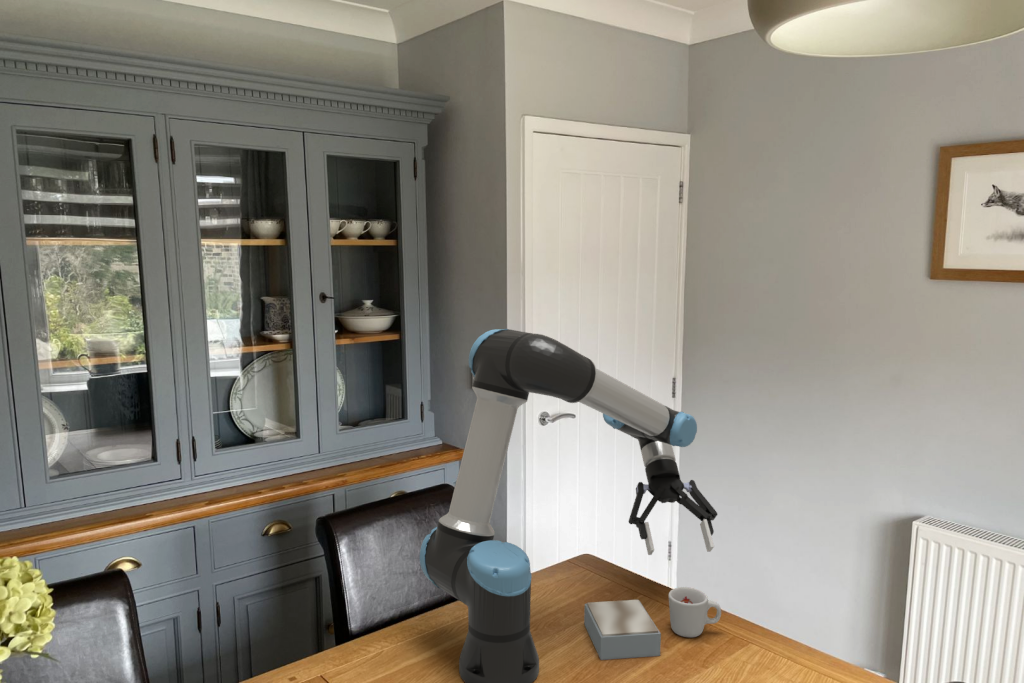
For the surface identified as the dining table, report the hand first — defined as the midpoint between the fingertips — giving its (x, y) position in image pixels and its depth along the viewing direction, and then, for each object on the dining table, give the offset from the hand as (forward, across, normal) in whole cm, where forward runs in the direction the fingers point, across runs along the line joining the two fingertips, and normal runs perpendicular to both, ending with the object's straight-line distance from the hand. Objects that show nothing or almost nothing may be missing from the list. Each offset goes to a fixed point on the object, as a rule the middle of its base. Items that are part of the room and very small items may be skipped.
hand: (681, 551), depth 163 cm
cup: (+17, 0, -3) cm, 17 cm away
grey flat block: (+17, +16, -2) cm, 24 cm away
